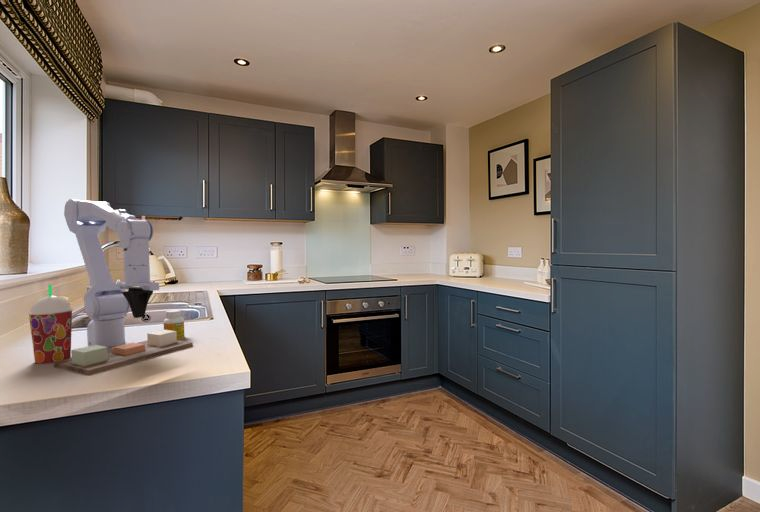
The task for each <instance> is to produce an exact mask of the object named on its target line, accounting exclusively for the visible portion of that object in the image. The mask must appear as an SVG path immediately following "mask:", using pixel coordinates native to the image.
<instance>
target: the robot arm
mask: <svg viewBox="0 0 760 512" xmlns="http://www.w3.org/2000/svg"><path fill="white" fill-rule="evenodd" d="M63 215H64V219H65V222H66V225H67V227H68V229H69V232H71V233H73V234H74V235H75V237H76V242H77V243H78V247H79V250H80V252H81V256H82V259H83V262H84V265H85V269H86V272H87V274H88V278H89V281H90V285H91V288H89V289H88V290H86V292H85V293H84V296H83V302H84V307H83V308H84V313H85V315H86V316H87V317H88V318H89V319H90V321H89V323H88V324H87V326H86V336H87V338H86V339H87V347H88V346H92V345H99V346H104V347H107V348H111V347H112V348H113V347H115V346H120V345H124V344H126V331H125V328H126V327H125V317H127V316H128V315H127V314H128V313H129V312H130V311H131V313H132V316H133V318H134V319H137V318H144V317H145V315H146V311H147V307H148V303H149V301H150V298H151V297H152V295H153V294H154V291H160V282H157V281H156V282H155V281H151V270H150V269H151V268H150V243H149V241H151V240H152V238H153V236H154V227H153V224H152V222H151V221H150V220H149V219H145V218H144V219H138V218H137V217H136V216H135V215H134V214H129V213H128V212H127V210H126V209H124V208H123V209H121V208H119V209H113V208H112V207H111V204H110V202H107V201H106V200H105V201H104V200H103V201H95V200H83V199H82V200H81V199H74V198H69V199H68V200H67V201H66V202H65V204H64V212H63ZM106 228H109V229H110V230H112V231H113V232H116V233H117V236H118V237H117V238H118V239H119V241H120V242H119V243H120V247H121V248H122V249H123V272H124V281H117V283H116V282H115V281H113V278H112V275H111V271H110V269H109V266H108V263H107V259H106V257H105V254H104V250H103V248H102V244H101V242H100V238H99V235H100V234H101V233H104V232H105V231H106Z"/></svg>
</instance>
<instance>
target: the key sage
mask: <svg viewBox="0 0 760 512" xmlns="http://www.w3.org/2000/svg"><path fill="white" fill-rule="evenodd" d="M108 350H109V349H108V347H104V346H99V345H92V346H88V345H87V346H84V347H78V348H75V349H71V358H72V364H76V365H80V366H87V365H90V364H94V363H98V362H102V361H106V360H108Z"/></svg>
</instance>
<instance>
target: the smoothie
mask: <svg viewBox="0 0 760 512" xmlns="http://www.w3.org/2000/svg"><path fill="white" fill-rule="evenodd" d="M52 286H53V285H52V284H50V283H49V284H48V286H47V287H48V292H47V293H48V295H45V296H43V297H41V298H39V299H37V300H36V301H35V302H34V303H33V305H32V306H31V308H30V311H28V313H27V314H28V317H29V318H28V319H29V325H30V333H31V334H30V335H31V342H32V348H33V356H34V357H33V358H34V363H35V364H36V365H45V364H54V362H58V361H62V360H66V359H71V358H72V351H71V350H72V328H73V327H72V326H73V309H74V308H73V307H72V306H71V305H70V303H69V302H68V301H67V300H66V299H65V298H63V297H61V296H57V295H53V287H52Z"/></svg>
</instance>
